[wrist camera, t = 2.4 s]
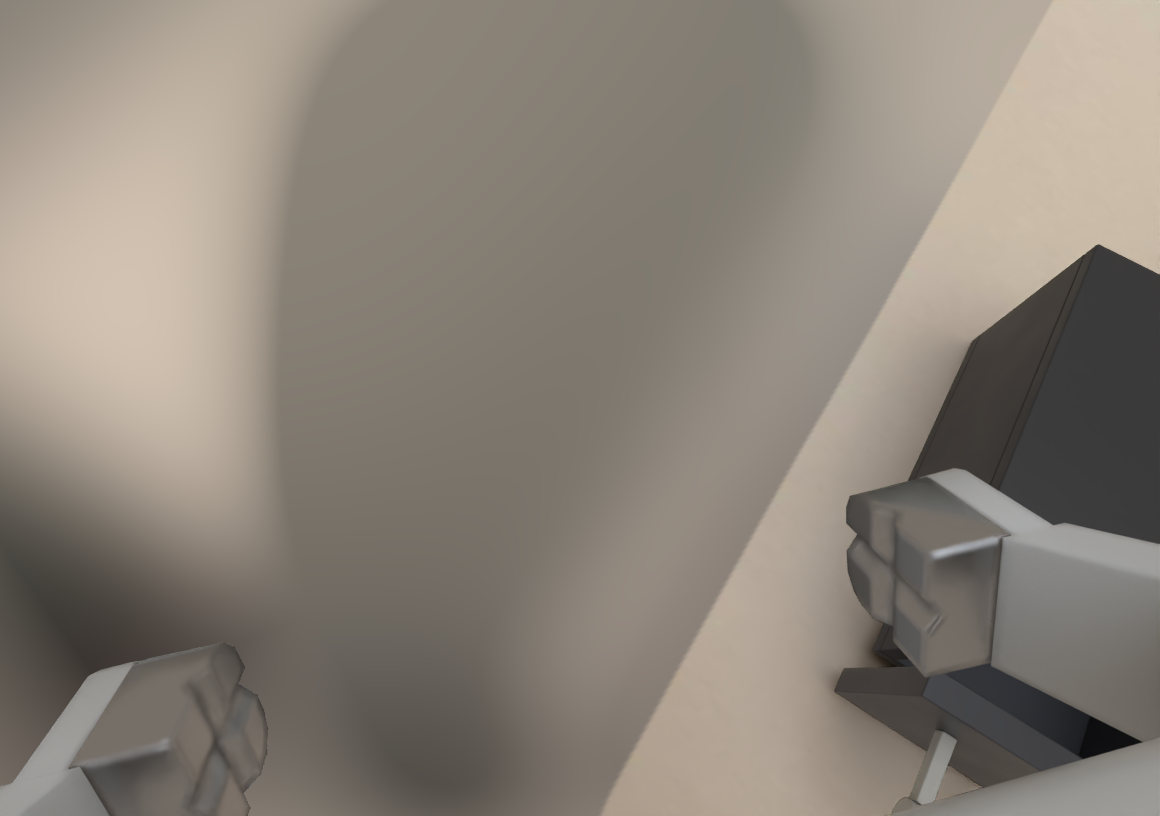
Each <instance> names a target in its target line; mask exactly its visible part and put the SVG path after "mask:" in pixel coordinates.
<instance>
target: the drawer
mask: <svg viewBox="0 0 1160 816" xmlns="http://www.w3.org/2000/svg"><path fill="white" fill-rule="evenodd" d="M872 651H873V652H874V653H876V654H878V655H879V656H881V657H882V658H884V659H886V660H887V661H889V662H890V663H892V664H894V665H895V666H897V667H878V668H844V670H843V672H842V674H841V677H840V679H839V681H838V683H837V685H836V688H835V690H834V691H835V692H836V693H837V694H839V695H840V696H842V697H843V698H845V699H846V700H848V701H850V702H851V703H853V704H854V705H856V706H857V707H859V708H860V709H862V710H864V711H865V712H867V713H868V714H870V715H871V716H873V717H874V718H876V719H878V720H879V721H881V722H882V723H884V724H885V725H887V726H888V727H890V728H892V729H893V730H895V731H896V732H898V733H899V734H901V735H902V736H904V737H906V738H907V739H909V740H910V741H912V742H913V743H915V744H916V745H918V746H920V747H921V748H923V749H924V750H926V751H927V753H926V756H925V758H924V761H923V764H922V766H921V769H920V771H919V774H918V777H917V779H916V782H915V784H914V787H913V790H912V792H911V795H910V797H909V798H907V797H905V798H902V799H901V800H900V801H898V803H897V804H896V805H895V807H894V809H893V811H892V813H896V812H899V811H903V810H907V809H910V808H914V807H917V806H921V805H924V804H928V803H931V802H934V801H935V798H936V796H937V793H938V790H939V788H940V785H941V782H942V779H943V777H944V774H945V771H946V769H947V766H948V765H949V766H951V767H952V768H954V769H955V770H957V771H958V772H960V773H962V774H963V775H965V776H966V777H968V778H969V779H971V780H972V781H974V782H976V783H977V784H979V785H980V786H982V787H983V788H984V787H988V786H991V785H995V784H998V783H1002V782H1005V781H1009V780H1012V779H1016V778H1019V777H1023V776H1026V775H1030V774H1033V773H1037V772H1040V771H1044V770H1047V769H1051V768H1054V767H1058V766H1061V765H1065V764H1068V763H1072V762H1075V761H1079V760H1082V759H1086V758H1089V757H1093V756H1097V755H1100V754H1104V753H1107V752H1111V751H1114V750H1118V749H1121V748H1125V747H1128V746H1132V745H1135V744H1139V743H1142V741H1140V740H1138V739H1136V738H1134V737H1132V736H1130V735H1128V734H1126V733H1124V732H1122V731H1120V730H1118V729H1116V728H1114V727H1112V726H1110V725H1108V724H1106V723H1104V722H1102V721H1100V720H1098V719H1096V718H1094V717H1092V716H1090V715H1088V714H1086V713H1084V712H1082V711H1080V710H1078V709H1076V708H1074V707H1072V706H1070V705H1068V704H1066V703H1064V702H1062V701H1060V700H1058V699H1056V698H1054V697H1052V696H1050V695H1048V694H1046V693H1044V692H1042V691H1040V690H1038V689H1036V688H1034V687H1032V686H1030V685H1028V684H1026V683H1024V682H1022V681H1020V680H1018V679H1016V678H1014V677H1012V676H1010V675H1008V674H1006V673H1004V672H1002V671H1000V670H998V669H996V668H994V667H992V666H991V663H987V664H982V665H978V666H974V667H969V668H965V669H961V670H957V671H952V672H948V673H944V674H940V675H935V676H931V677H927V678H925V676H924V675H923V674H922V673H921V672H920V671H919V670H918V669H917V668H916V666H915V665H914V664H913V663H912V662H911V661H910V660H909V659H908V657H907V656H906V655H905V654H904V653H903V652H902V651H901V650H900V648H899V647H898V646H897V645H896V644H895V643H894V642H893V626H891V625H888V624H886V623H884V625H883V627H882V629H881V632H880V634H879V636H878V639H877V641H876V643H875V645H874V648H873V650H872ZM892 813H891V814H892Z"/></svg>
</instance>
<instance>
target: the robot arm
mask: <svg viewBox="0 0 1160 816" xmlns="http://www.w3.org/2000/svg"><path fill="white" fill-rule="evenodd" d="M846 523H847V524H848V525H849V526H850V527H851V528H852V529H853V531H854V532H855V533H856V534H857V536H856V537H855V539H854V540H853V542H852V544H851V545H850V547H849V548H848V550H847V565H848V574H849V577H850V580H851V583H852V587H853V590H854V592H855V594H856V596H857V598H858V599H859V601H860V603H861V605H862V606H863V607H864V608H865V610H866V611H867V612H868V613H869V614H870V615H871V617H872V618H873V619H876V620H878V621H881V622H883V623H886V624H888V625H891V626H893V642H894V643H895V644H896V645H897V646H898V647H899V648H900V650H901V651H902V652H903V653H904V654H905V655H906V656H907V657H908V659H909V660H910V661H911V662H912V663H913V664H914V665H915V666H916V668H917V669H918V670H919V671H920V672H921V673H922V674H923V675H924V676H925V678H927V677H931V676H935V675H940V674H944V673H948V672H952V671H957V670H961V669H965V668H969V667H974V666H978V665H982V664H987V663H991V666H992V667H994V668H996V669H998V670H1000V671H1002V672H1004V673H1006V674H1008V675H1010V676H1012V677H1014V678H1016V679H1018V680H1020V681H1022V682H1024V683H1026V684H1028V685H1030V686H1032V687H1034V688H1036V689H1038V690H1040V691H1042V692H1044V693H1046V694H1048V695H1050V696H1052V697H1054V698H1056V699H1058V700H1060V701H1062V702H1064V703H1066V704H1068V705H1070V706H1072V707H1074V708H1076V709H1078V710H1080V711H1082V712H1084V713H1086V714H1088V715H1090V716H1092V717H1094V718H1096V719H1098V720H1100V721H1102V722H1104V723H1106V724H1108V725H1110V726H1112V727H1114V728H1116V729H1118V730H1120V731H1122V732H1124V733H1126V734H1128V735H1130V736H1132V737H1134V738H1136V739H1138V740H1140V741H1142V743H1139V744H1135V745H1132V746H1128V747H1125V748H1121V749H1118V750H1114V751H1111V752H1107V753H1104V754H1100V755H1097V756H1093V757H1089V758H1086V759H1082V760H1079V761H1075V762H1072V763H1068V764H1065V765H1061V766H1058V767H1054V768H1051V769H1047V770H1044V771H1040V772H1037V773H1033V774H1030V775H1026V776H1023V777H1019V778H1016V779H1012V780H1009V781H1005V782H1002V783H998V784H995V785H991V786H988V787H984V788H981V789H977V790H973V791H970V792H966V793H963V794H959V795H956V796H952V797H949V798H945V799H942V800H938V801H935V802H931V803H928V804H924V805H921V806H917V807H914V808H910V809H907V810H903V811H899V812H896V813H892V814H889V815H885V816H1160V544H1156V543H1152V542H1148V541H1143V540H1139V539H1134V538H1130V537H1126V536H1121V535H1117V534H1112V533H1108V532H1104V531H1099V530H1095V529H1090V528H1086V527H1081V526H1077V525H1073V524H1068V523H1061V524H1057V525H1052V524H1050V523H1049V522H1047V521H1046V520H1044V519H1042V518H1041V517H1039V516H1038V515H1036V514H1034V513H1033V512H1031V511H1030V510H1028V509H1027V508H1025V507H1023V506H1022V505H1020V504H1019V503H1017V502H1015V501H1014V500H1012V499H1011V498H1009V497H1007V496H1006V495H1004V494H1003V493H1001V492H1000V491H998V490H996V489H995V488H993V487H992V486H990V485H988V484H987V483H985V482H984V481H982V480H981V479H979V478H977V477H976V476H974V475H973V474H971V473H969V472H968V471H966V470H962V469H956V468H953V469H949V470H946V471H942V472H938V473H935V474H931V475H927V476H924V477H920V478H919V479H915V480H911V481H907V482H903V483H899V484H895V485H891V486H887V487H883V488H879V489H876V490H872V491H868V492H864V493H860V494H856V495H852V496H850V498H849V501H848V504H847V507H846ZM244 668H245V667H244V664H243V663H242V660H241V659H240V657H239V654H238V652H237V651H236V649H235V647H234V646H232V645H229V644H227V643H219V644H215V645H210V646H206V647H201V648H196V649H191V650H187V651H182V652H178V653H173V654H168V655H164V656H159V657H154V658H150V659H145V660H143V661H135V662H132V663H127V664H123V665H119V666H115V667H111V668H106V669H102V670H100V671H98V672H96V673H94V674H92V675H90V676H88V677H87V679H86V680H85V682H84V683H83V684H82V686H81V687H80V689H79V690H78V692H77V693H76V694H75V696H74V697H73V699H72V700H71V701H70V703H69V704H68V706H67V707H66V708H65V710H64V711H63V713H62V714H61V716H60V717H59V718H58V720H57V721H56V723H55V724H54V725H53V727H52V728H51V730H50V731H49V732H48V734H47V735H46V737H45V738H44V740H43V741H42V742H41V744H40V745H39V747H38V748H37V749H36V751H35V752H34V754H33V755H32V756H31V758H30V759H29V761H28V762H27V764H26V765H25V766H24V768H23V769H22V771H21V772H20V773H19V775H18V776H17V778H16V779H15V781H14V782H13V783H12V784H8V785H4V786H0V816H248V813H249V810H250V806H249V804H248V801H247V799H246V797H245V795H244V792H245V791H246V790H247V789H248V788H249V787H250V785H251V784H252V783H253V782H254V781H255V780H256V779H257V778H258V777H259V776H260V775H261V772H262V769H263V765H264V761H265V758H266V755H267V738H268V727H267V723H266V718H265V713H264V709H263V707H262V705H261V702H260V700H259V698H258V695H257V694H255V693H253V692H252V691H250V690H248V689H246V688H244V687H243V686H241V685H239V681H240V679H241V676H242V674H243V671H244Z"/></svg>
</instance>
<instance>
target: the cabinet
mask: <svg viewBox="0 0 1160 816" xmlns="http://www.w3.org/2000/svg"><path fill="white" fill-rule="evenodd" d="M953 468H956V469H962V470H966V471H968V472H969V473H971V474H973V475H974V476H976V477H977V478H979V479H981V480H982V481H984V482H985V483H987V484H988V485H990V486H992V487H993V488H995V489H996V490H998V491H1000V492H1001V493H1003V494H1004V495H1006V496H1007V497H1009V498H1011V499H1012V500H1014V501H1015V502H1017V503H1019V504H1020V505H1022V506H1023V507H1025V508H1027V509H1028V510H1030V511H1031V512H1033V513H1034V514H1036V515H1038V516H1039V517H1041V518H1042V519H1044V520H1046V521H1047V522H1049V523H1050V524H1052V525H1057V524H1061V523H1068V524H1073V525H1077V526H1081V527H1086V528H1090V529H1095V530H1099V531H1104V532H1108V533H1112V534H1117V535H1121V536H1126V537H1130V538H1134V539H1139V540H1143V541H1148V542H1152V543H1156V544H1160V275H1159V274H1157V273H1155V272H1153V271H1151V270H1149V269H1147V268H1145V267H1143V266H1141V265H1139V264H1137V263H1135V262H1133V261H1131V260H1129V259H1127V258H1125V257H1123V256H1121V255H1119V254H1117V253H1115V252H1113V251H1111V250H1109V249H1107V248H1105V247H1103V246H1101V245H1096V246H1095V247H1093V248H1092V249H1091V250H1090V251H1088V252H1087V253H1086V254H1085V255H1083V256H1082V257H1080V258H1079V259H1078V260H1077V261H1075V262H1074V263H1073V264H1071V265H1070V266H1069V267H1068V268H1066V269H1065V270H1064V271H1062V272H1061V273H1060V274H1058V275H1057V276H1056V277H1055V278H1053V279H1052V280H1051V281H1049V282H1048V283H1047V284H1046V285H1044V286H1043V287H1042V288H1040V289H1039V290H1038V291H1037V292H1035V293H1034V294H1033V295H1031V296H1030V297H1029V298H1028V299H1026V300H1025V301H1024V302H1022V303H1021V304H1020V305H1019V306H1017V307H1016V308H1015V309H1013V310H1012V311H1011V312H1009V313H1008V314H1007V315H1006V316H1004V317H1003V318H1002V319H1000V320H999V321H998V322H997V323H995V324H994V325H993V326H991V327H990V328H989V329H988V330H986V331H985V332H984V333H982V334H981V335H980V336H978V337H977V338H976V339H975V340H973V341H972V343H971V345H970V348H969V350H968V352H967V354H966V356H965V358H964V361H963V363H962V365H961V367H960V369H959V371H958V374H957V376H956V378H955V380H954V382H953V384H952V387H951V389H950V391H949V393H948V395H947V397H946V400H945V402H944V404H943V406H942V408H941V411H940V413H939V415H938V417H937V419H936V421H935V424H934V426H933V428H932V430H931V432H930V434H929V437H928V439H927V441H926V443H925V445H924V447H923V450H922V452H921V454H920V456H919V458H918V460H917V463H916V465H915V467H914V469H913V471H912V473H911V476H910V478H909V480H908V481H911V480H915V479H919V478H920V477H924V476H927V475H931V474H935V473H938V472H942V471H946V470H949V469H953Z"/></svg>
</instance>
